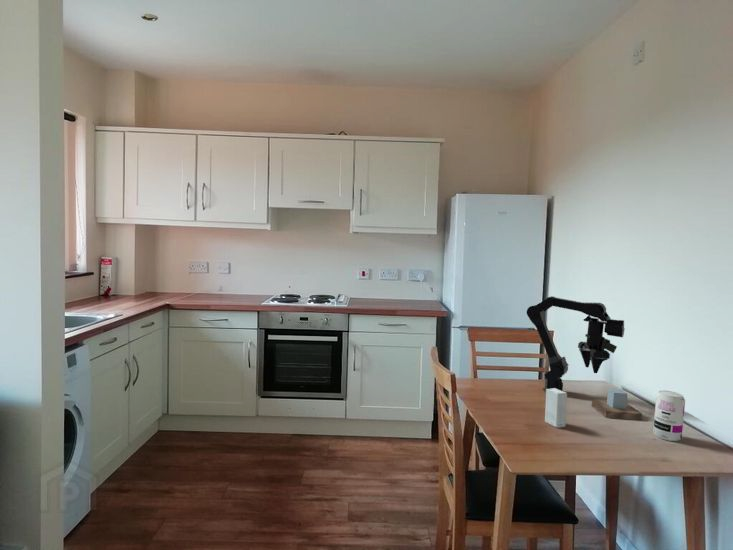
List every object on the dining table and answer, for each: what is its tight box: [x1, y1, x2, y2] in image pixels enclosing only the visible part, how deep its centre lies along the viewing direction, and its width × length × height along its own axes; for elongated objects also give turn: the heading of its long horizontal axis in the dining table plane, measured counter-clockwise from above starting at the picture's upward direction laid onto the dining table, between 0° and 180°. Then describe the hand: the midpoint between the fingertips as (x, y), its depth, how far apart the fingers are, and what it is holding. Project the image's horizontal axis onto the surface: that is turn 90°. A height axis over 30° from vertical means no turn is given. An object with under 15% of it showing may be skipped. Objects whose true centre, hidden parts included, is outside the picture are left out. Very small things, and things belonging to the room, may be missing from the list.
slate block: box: [606, 388, 628, 409], centre depth 182 cm, size 5×5×6 cm
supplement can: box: [652, 390, 686, 442], centre depth 159 cm, size 8×8×15 cm
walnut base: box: [591, 399, 643, 421], centre depth 182 cm, size 13×13×2 cm
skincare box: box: [544, 388, 568, 428], centre depth 166 cm, size 6×4×12 cm
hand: (591, 370), depth 196 cm, fingers open, 9 cm apart
